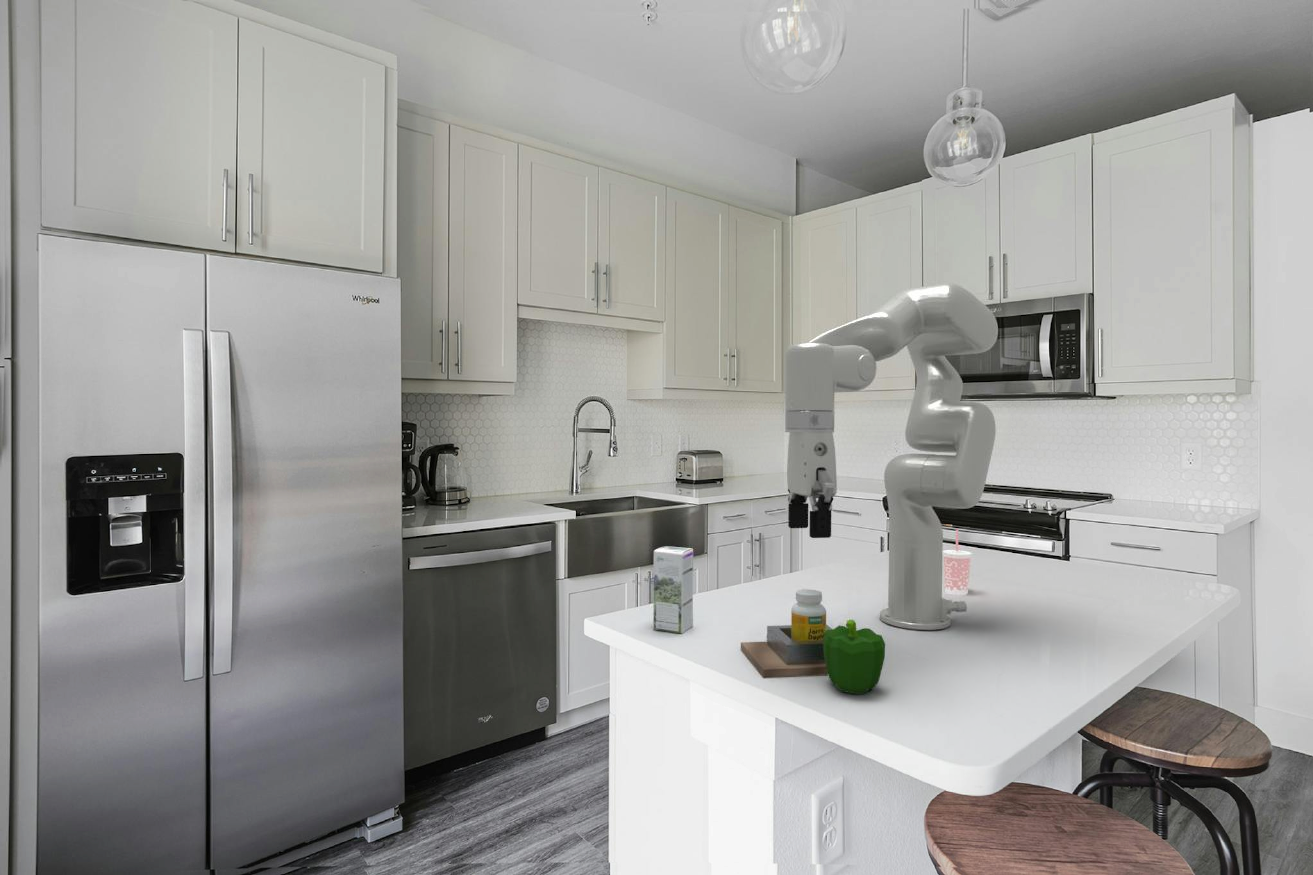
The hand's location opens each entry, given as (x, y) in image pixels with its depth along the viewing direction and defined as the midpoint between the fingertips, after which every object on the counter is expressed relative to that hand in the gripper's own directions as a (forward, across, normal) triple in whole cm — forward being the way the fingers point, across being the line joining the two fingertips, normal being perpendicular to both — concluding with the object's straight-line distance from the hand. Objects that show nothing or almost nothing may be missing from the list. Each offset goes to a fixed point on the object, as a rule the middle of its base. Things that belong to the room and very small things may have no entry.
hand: (808, 532), depth 111 cm
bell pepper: (+20, -12, -2) cm, 24 cm away
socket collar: (+19, 0, 0) cm, 19 cm away
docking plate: (+20, 0, 0) cm, 20 cm away
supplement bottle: (+19, 0, 0) cm, 19 cm away
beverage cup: (+21, +40, -49) cm, 66 cm away
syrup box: (+20, +20, +18) cm, 34 cm away
